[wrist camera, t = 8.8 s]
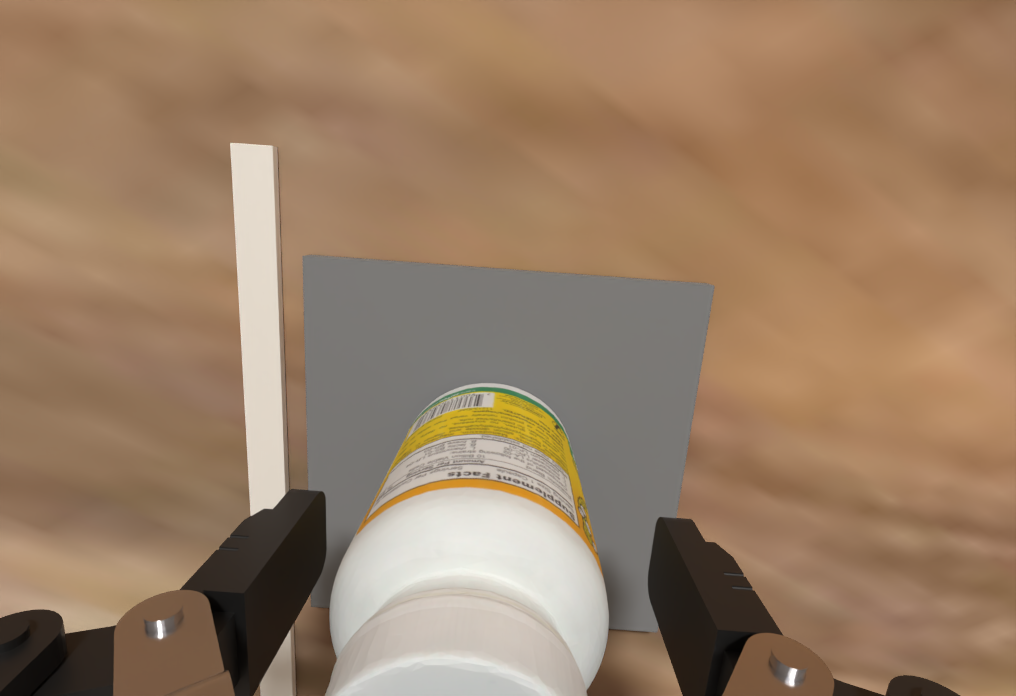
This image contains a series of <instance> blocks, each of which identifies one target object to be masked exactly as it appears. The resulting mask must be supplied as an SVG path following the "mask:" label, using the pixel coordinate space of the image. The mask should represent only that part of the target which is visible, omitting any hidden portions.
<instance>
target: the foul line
mask: <svg viewBox="0 0 1016 696" xmlns="http://www.w3.org/2000/svg"><path fill="white" fill-rule="evenodd" d="M230 147H231V165H232V183H233V202H234V220H235V238H236V256H237V274H238V293H239V311H240V329H241V347H242V366H243V384H244V402H245V420H246V438H247V457H248V475H249V493H250V511H251V516H252V515H254V514H256V513H257V512H259V511H261V510H263V509H273V508H274V507H275V506H276V505H277V504H278V503H279V501H280V500H281V499H282V498H283V497H284V496H285V494H286V493H287V492H288V491H289V469H288V440H287V411H286V382H285V353H284V324H283V295H282V266H281V237H280V208H279V179H278V150H277V147H275V146H268V145H254V144H241V143H230ZM260 694H261V696H296V672H295V643H294V624H293V626H292V627H291V629H290V631H289V633H288V634H287V636H286V638H285V640H284V642H283V643H282V645H281V647H280V649H279V650H278V652H277V654H276V656H275V658H274V659H273V661H272V663H271V665H270V666H269V668H268V670H267V672H266V674H265V675H264V677H263V679H262V681H261V682H260Z"/></svg>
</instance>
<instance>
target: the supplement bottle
mask: <svg viewBox="0 0 1016 696" xmlns="http://www.w3.org/2000/svg"><path fill="white" fill-rule="evenodd" d="M329 619H330V633H331V638H332V644H333V648H334V651H335V654H336V657H337V661H336V663H335V665H334V669H333V672H332V675H331V679H330V683H329V686H328V689H327V691H326V694H325V696H587V692H586V691H587V689H588V688H589V686H590V685H591V683H592V681H593V680H594V678H595V676H596V673H597V671H598V669H599V667H600V665H601V662H602V659H603V656H604V652H605V649H606V644H607V638H608V629H609V610H608V601H607V593H606V588H605V583H604V578H603V574H602V569H601V565H600V560H599V556H598V552H597V547H596V543H595V540H594V535H593V531H592V527H591V523H590V519H589V515H588V511H587V507H586V503H585V499H584V495H583V491H582V487H581V483H580V479H579V474H578V469H577V465H576V462H575V458H574V454H573V451H572V448H571V445H570V441H569V438H568V436H567V433H566V431H565V428H564V426H563V425H562V423H561V421H560V420H559V418H558V417H557V415H556V414H555V413H554V412H553V411H552V410H551V409H550V408H549V407H548V406H547V405H546V404H545V403H544V402H542V401H541V400H540V399H538V398H537V397H535V396H533V395H532V394H530V393H528V392H525V391H523V390H521V389H518V388H515V387H512V386H508V385H504V384H496V383H479V384H471V385H466V386H462V387H459V388H456V389H454V390H451V391H449V392H447V393H445V394H443V395H441V396H439V397H438V398H436V399H435V400H434V401H432V402H431V403H430V404H429V405H428V406H427V407H426V408H425V409H424V410H423V411H422V412H421V413H420V414H419V415H418V417H417V418H416V419H415V421H414V422H413V424H412V426H411V427H410V429H409V431H408V433H407V436H406V438H405V440H404V441H403V443H402V445H401V447H400V449H399V451H398V453H397V455H396V457H395V459H394V461H393V463H392V464H391V466H390V468H389V470H388V472H387V474H386V476H385V478H384V480H383V482H382V484H381V486H380V488H379V490H378V492H377V494H376V496H375V498H374V500H373V502H372V504H371V506H370V508H369V510H368V512H367V513H366V515H365V517H364V519H363V521H362V523H361V525H360V527H359V529H358V530H357V532H356V534H355V536H354V538H353V540H352V542H351V544H350V546H349V548H348V549H347V551H346V553H345V555H344V557H343V559H342V562H341V564H340V566H339V569H338V572H337V574H336V577H335V580H334V584H333V588H332V593H331V600H330V613H329Z"/></svg>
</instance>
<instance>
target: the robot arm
mask: <svg viewBox="0 0 1016 696" xmlns="http://www.w3.org/2000/svg"><path fill="white" fill-rule="evenodd" d="M326 551H327V538H326V497H325V494H324V492H323V491H312V490H299V489H291V490H289V491H288V492H287V493H286V494H285V496H284V497H283V498H282V499H281V500H280V501H279V503H278V504H277V505H276V506H275V507H274V508H273V509H263V510H261V511H259V512H257V513H256V514H254V515H252V516H250V517H249V518H247V519H245V520H244V521H243V522H242V523H241V524H240V525H239V526H238V527H237V528H236V529H235V531H234V532H233V533H232V534H231V536H230V538H227V539H226V540H225V541H224V542H223V543H222V545H221V546H220V547H219V550H216V551H215V552H214V553H213V554H212V555H211V556H210V558H209V559H208V560H207V561H206V562H205V563H204V564H203V565H202V566H201V567H200V568H199V569H198V570H197V572H196V573H195V574H194V575H193V576H192V577H191V578H190V579H189V580H188V581H187V582H186V583H185V585H184V586H183V587H182V588H181V589H180V590H176V591H170V592H166V593H162V594H159V595H156V596H153V597H151V598H149V599H146V600H144V601H143V602H141V603H139V604H137V605H136V606H134V607H133V608H132V609H130V610H129V611H128V612H127V613H126V614H125V615H124V616H123V617H122V618H121V619H120V620H119V622H118V623H117V625H116V626H111V627H105V628H99V629H92V630H86V631H80V632H74V633H67V634H65V631H64V625H63V620H62V617H61V616H60V615H59V614H58V613H56V612H54V611H50V610H29V611H23V612H19V613H15V614H11V615H8V616H5V617H2V618H0V696H253V695H254V693H255V691H256V690H257V688H258V686H259V684H260V682H261V681H262V679H263V677H264V675H265V674H266V672H267V670H268V668H269V666H270V665H271V663H272V661H273V659H274V658H275V656H276V654H277V652H278V650H279V649H280V647H281V645H282V643H283V642H284V640H285V638H286V636H287V634H288V633H289V631H290V629H291V627H292V626H293V624H294V622H295V620H296V618H297V617H298V615H299V613H300V611H301V610H302V608H303V606H304V604H305V602H306V601H307V599H308V597H309V595H310V594H311V592H312V590H313V588H314V586H315V585H316V583H317V581H318V579H319V577H320V575H321V573H322V570H323V567H324V563H325V559H326ZM648 593H649V599H650V603H651V606H652V608H653V611H654V614H655V617H656V620H657V623H658V626H659V629H660V631H661V634H662V637H663V640H664V643H665V646H666V649H667V651H668V654H669V657H670V660H671V663H672V666H673V669H674V672H675V674H676V677H677V680H678V683H679V686H680V689H681V692H682V695H683V696H884V695H881V694H878V693H875V692H872V691H869V690H866V689H863V688H859V687H856V686H853V685H850V684H847V683H844V682H841V681H839V680H836V679H834V678H833V676H832V673H831V671H830V670H829V668H828V667H827V665H826V664H825V663H824V662H823V660H822V659H821V658H820V657H819V656H818V655H817V654H815V653H814V652H813V651H812V650H810V649H809V648H807V647H806V646H804V645H803V644H801V643H799V642H797V641H795V640H793V639H791V638H788V637H785V636H783V634H782V633H781V631H780V630H779V628H778V627H777V625H776V623H775V622H774V620H773V619H772V617H771V616H770V614H769V613H768V611H767V609H766V608H765V606H764V605H763V603H762V602H761V600H760V599H759V597H758V595H757V594H756V592H755V591H753V590H752V586H751V585H750V583H749V581H748V580H747V578H746V577H744V576H743V572H742V571H741V569H740V567H739V566H738V564H737V563H736V561H735V560H734V558H733V557H732V556H731V555H730V554H728V553H727V552H726V551H725V550H723V549H722V548H721V547H720V546H719V545H717V544H716V543H714V542H705V540H704V539H703V537H702V535H701V533H700V532H699V530H698V528H697V527H696V525H695V523H694V522H693V520H691V519H682V518H669V517H659V518H658V519H657V522H656V526H655V532H654V538H653V545H652V551H651V558H650V564H649V571H648ZM885 696H960V695H958V694H957V693H955V692H953V691H951V690H950V689H948V688H946V687H944V686H942V685H940V684H938V683H935V682H933V681H930V680H927V679H924V678H920V677H916V676H907V675H904V676H898V677H895V678H893V679H892V680H891V681H890V683H889V685H888V689H887V692H886V695H885Z"/></svg>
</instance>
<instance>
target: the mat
mask: <svg viewBox="0 0 1016 696" xmlns="http://www.w3.org/2000/svg"><path fill="white" fill-rule="evenodd" d="M713 292H714V286H713V285H710V284H707V283H693V282H679V281H665V280H652V279H638V278H624V277H610V276H596V275H582V274H568V273H555V272H541V271H527V270H513V269H499V268H485V267H472V266H458V265H444V264H430V263H416V262H402V261H389V260H375V259H361V258H347V257H333V256H319V255H307V256H303V293H304V334H305V374H306V415H307V455H308V490H312V491H323V492H324V494H325V497H326V538H327V551H326V559H325V563H324V567H323V570H322V573H321V575H320V577H319V579H318V581H317V583H316V585H315V586H314V588H313V590H312V592H311V607H322V608H330V600H331V593H332V588H333V584H334V580H335V577H336V574H337V572H338V569H339V566H340V564H341V562H342V559H343V557H344V555H345V553H346V551H347V549H348V548H349V546H350V544H351V542H352V540H353V538H354V536H355V534H356V532H357V530H358V529H359V527H360V525H361V523H362V521H363V519H364V517H365V515H366V513H367V512H368V510H369V508H370V506H371V504H372V502H373V500H374V498H375V496H376V494H377V492H378V490H379V488H380V486H381V484H382V482H383V480H384V478H385V476H386V474H387V472H388V470H389V468H390V466H391V464H392V463H393V461H394V459H395V457H396V455H397V453H398V451H399V449H400V447H401V445H402V443H403V441H404V440H405V438H406V436H407V433H408V431H409V429H410V427H411V426H412V424H413V422H414V421H415V419H416V418H417V417H418V415H419V414H420V413H421V412H422V411H423V410H424V409H425V408H426V407H427V406H428V405H429V404H430V403H431V402H432V401H434V400H435V399H436V398H438V397H439V396H441V395H443V394H445V393H447V392H449V391H451V390H454V389H456V388H459V387H462V386H466V385H471V384H479V383H496V384H504V385H508V386H512V387H515V388H518V389H521V390H523V391H525V392H528V393H530V394H532V395H533V396H535V397H537V398H538V399H540V400H541V401H542V402H544V403H545V404H546V405H547V406H548V407H549V408H550V409H551V410H552V411H553V412H554V413H555V414H556V415H557V417H558V418H559V420H560V421H561V423H562V425H563V426H564V428H565V431H566V433H567V436H568V438H569V441H570V445H571V448H572V451H573V454H574V458H575V462H576V465H577V469H578V474H579V479H580V483H581V487H582V491H583V495H584V499H585V503H586V507H587V511H588V515H589V519H590V523H591V527H592V531H593V535H594V540H595V543H596V547H597V552H598V556H599V560H600V565H601V569H602V574H603V578H604V583H605V588H606V593H607V601H608V610H609V629H619V630H632V631H646V632H657V631H658V623H657V620H656V617H655V614H654V611H653V608H652V606H651V603H650V599H649V593H648V571H649V564H650V558H651V551H652V545H653V538H654V532H655V526H656V522H657V519H658V518H659V517H669V518H676V516H677V510H678V504H679V498H680V492H681V486H682V480H683V474H684V468H685V462H686V456H687V449H688V443H689V437H690V431H691V425H692V419H693V413H694V407H695V401H696V395H697V389H698V383H699V377H700V371H701V365H702V359H703V353H704V347H705V341H706V335H707V329H708V323H709V317H710V311H711V304H712V298H713Z"/></svg>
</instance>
